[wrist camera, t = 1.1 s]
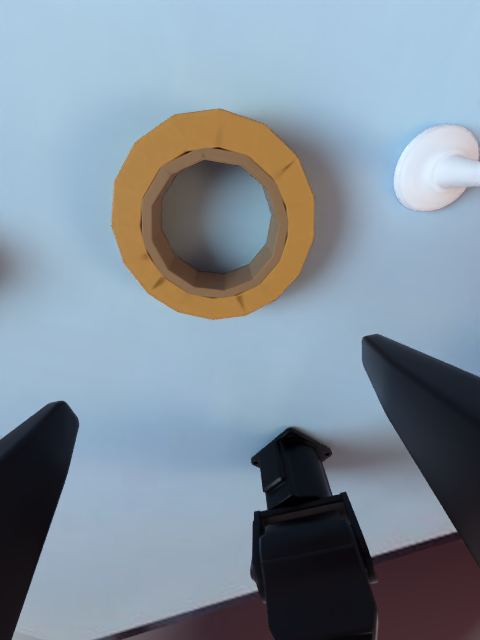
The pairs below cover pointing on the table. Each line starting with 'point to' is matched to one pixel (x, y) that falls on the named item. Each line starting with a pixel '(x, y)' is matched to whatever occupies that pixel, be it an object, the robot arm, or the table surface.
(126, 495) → the table surface
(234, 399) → the table surface
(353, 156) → the table surface
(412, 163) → the chess piece
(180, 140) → the tape roll
